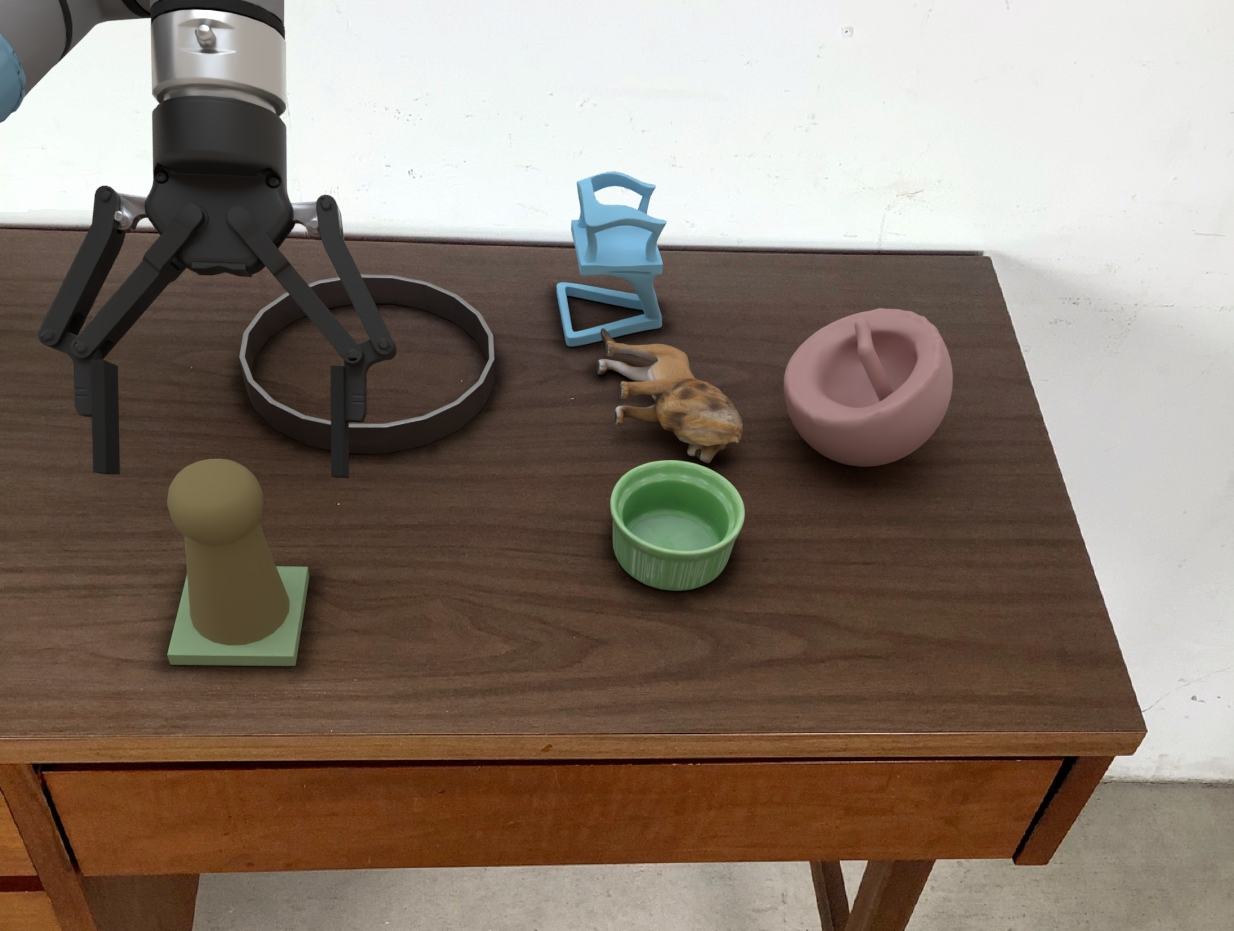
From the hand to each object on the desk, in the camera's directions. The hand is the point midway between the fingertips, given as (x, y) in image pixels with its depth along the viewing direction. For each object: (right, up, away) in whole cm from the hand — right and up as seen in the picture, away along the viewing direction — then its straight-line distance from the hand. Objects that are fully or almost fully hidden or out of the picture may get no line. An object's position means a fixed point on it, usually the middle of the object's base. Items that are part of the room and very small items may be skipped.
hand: (224, 476), depth 73 cm
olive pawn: (0, -8, +3) cm, 9 cm away
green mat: (0, -9, +4) cm, 9 cm away
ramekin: (+27, -4, +11) cm, 30 cm away
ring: (+5, +10, +21) cm, 24 cm away
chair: (+23, +16, +28) cm, 40 cm away
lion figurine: (+23, +8, +18) cm, 30 cm away
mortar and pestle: (+41, +4, +20) cm, 46 cm away
